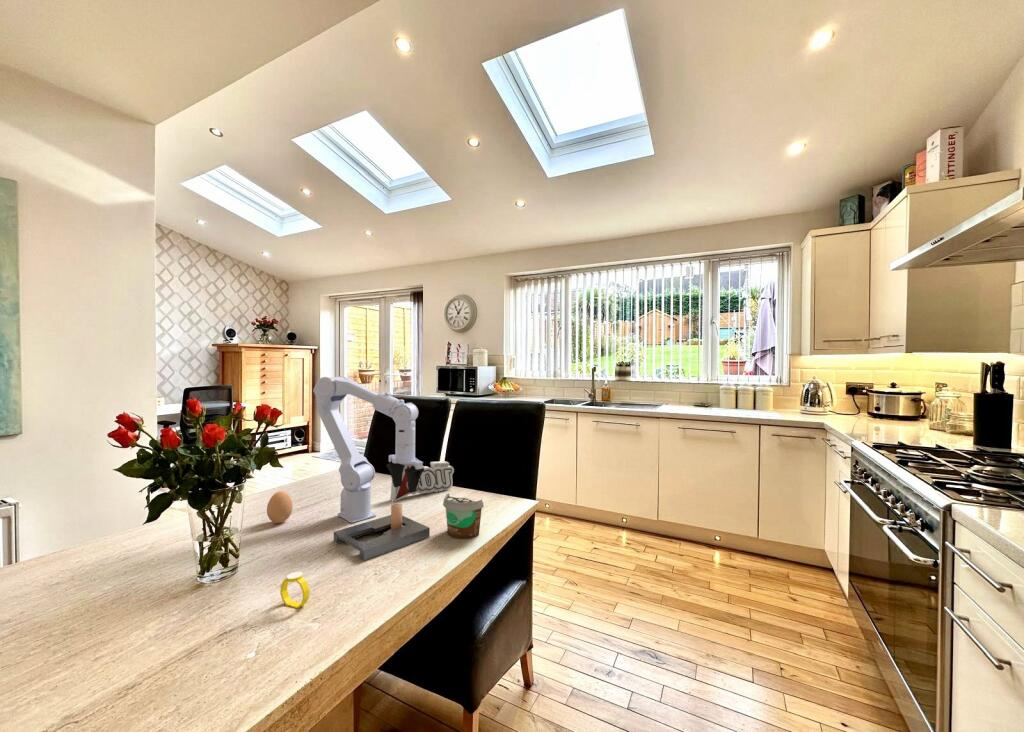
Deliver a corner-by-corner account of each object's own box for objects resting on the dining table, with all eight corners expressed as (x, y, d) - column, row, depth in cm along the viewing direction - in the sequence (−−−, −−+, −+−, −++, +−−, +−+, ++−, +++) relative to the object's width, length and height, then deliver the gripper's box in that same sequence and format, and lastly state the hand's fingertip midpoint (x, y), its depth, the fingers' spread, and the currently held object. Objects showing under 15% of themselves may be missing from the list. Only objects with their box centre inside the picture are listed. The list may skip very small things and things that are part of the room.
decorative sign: (447, 493, 157) (451, 454, 157) (451, 495, 154) (455, 455, 155) (389, 500, 142) (394, 456, 143) (392, 502, 140) (397, 457, 141)
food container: (433, 535, 113) (433, 498, 113) (447, 527, 118) (447, 492, 118) (471, 544, 107) (471, 506, 107) (483, 536, 112) (483, 499, 112)
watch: (277, 607, 79) (276, 576, 79) (289, 600, 82) (288, 569, 82) (301, 612, 77) (300, 580, 77) (313, 604, 80) (311, 573, 80)
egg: (293, 524, 119) (293, 492, 119) (266, 528, 116) (267, 496, 116) (291, 516, 125) (292, 487, 125) (266, 521, 121) (266, 490, 121)
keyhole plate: (333, 541, 108) (333, 531, 108) (396, 521, 122) (396, 513, 122) (363, 561, 97) (364, 550, 97) (429, 536, 111) (429, 527, 111)
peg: (383, 534, 113) (384, 505, 113) (400, 529, 117) (400, 501, 117) (392, 539, 109) (393, 509, 109) (409, 534, 113) (409, 505, 113)
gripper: (380, 442, 125) (379, 487, 125) (408, 449, 115) (408, 497, 115) (399, 439, 130) (399, 482, 130) (428, 445, 121) (428, 491, 121)
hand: (404, 489), depth 123 cm, fingers open, 7 cm apart
